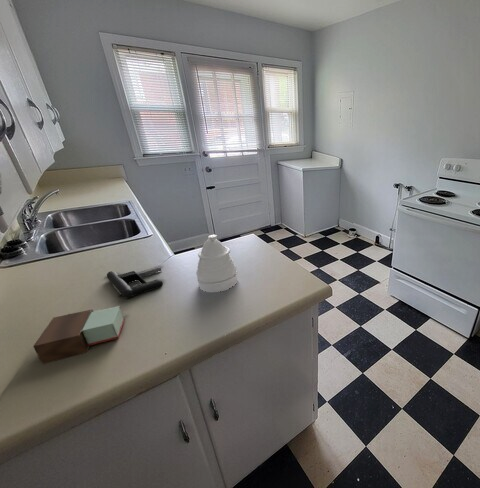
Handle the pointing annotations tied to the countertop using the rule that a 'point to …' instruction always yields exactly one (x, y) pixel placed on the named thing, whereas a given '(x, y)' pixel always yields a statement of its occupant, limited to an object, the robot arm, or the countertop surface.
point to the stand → (63, 337)
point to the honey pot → (215, 267)
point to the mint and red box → (103, 325)
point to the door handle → (125, 278)
